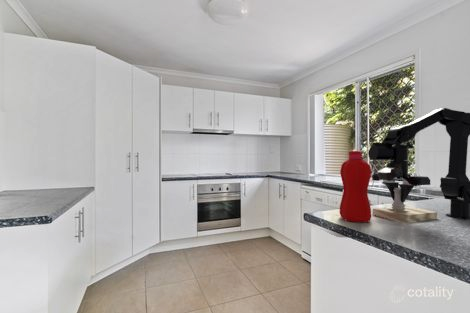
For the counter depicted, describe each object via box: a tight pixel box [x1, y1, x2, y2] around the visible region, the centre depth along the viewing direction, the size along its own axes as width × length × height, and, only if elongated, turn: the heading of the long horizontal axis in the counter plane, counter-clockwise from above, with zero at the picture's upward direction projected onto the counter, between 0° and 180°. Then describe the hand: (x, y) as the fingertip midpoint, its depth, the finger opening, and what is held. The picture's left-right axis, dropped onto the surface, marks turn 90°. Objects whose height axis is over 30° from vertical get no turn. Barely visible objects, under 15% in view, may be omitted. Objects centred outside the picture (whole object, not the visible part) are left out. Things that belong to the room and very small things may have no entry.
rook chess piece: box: [391, 187, 406, 210], centre depth 90 cm, size 4×4×8 cm
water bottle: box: [339, 150, 374, 223], centre depth 86 cm, size 9×11×25 cm
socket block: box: [371, 205, 438, 224], centre depth 91 cm, size 18×12×2 cm, turn 109°
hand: (398, 201), depth 90 cm, fingers closed on rook chess piece, 3 cm apart
